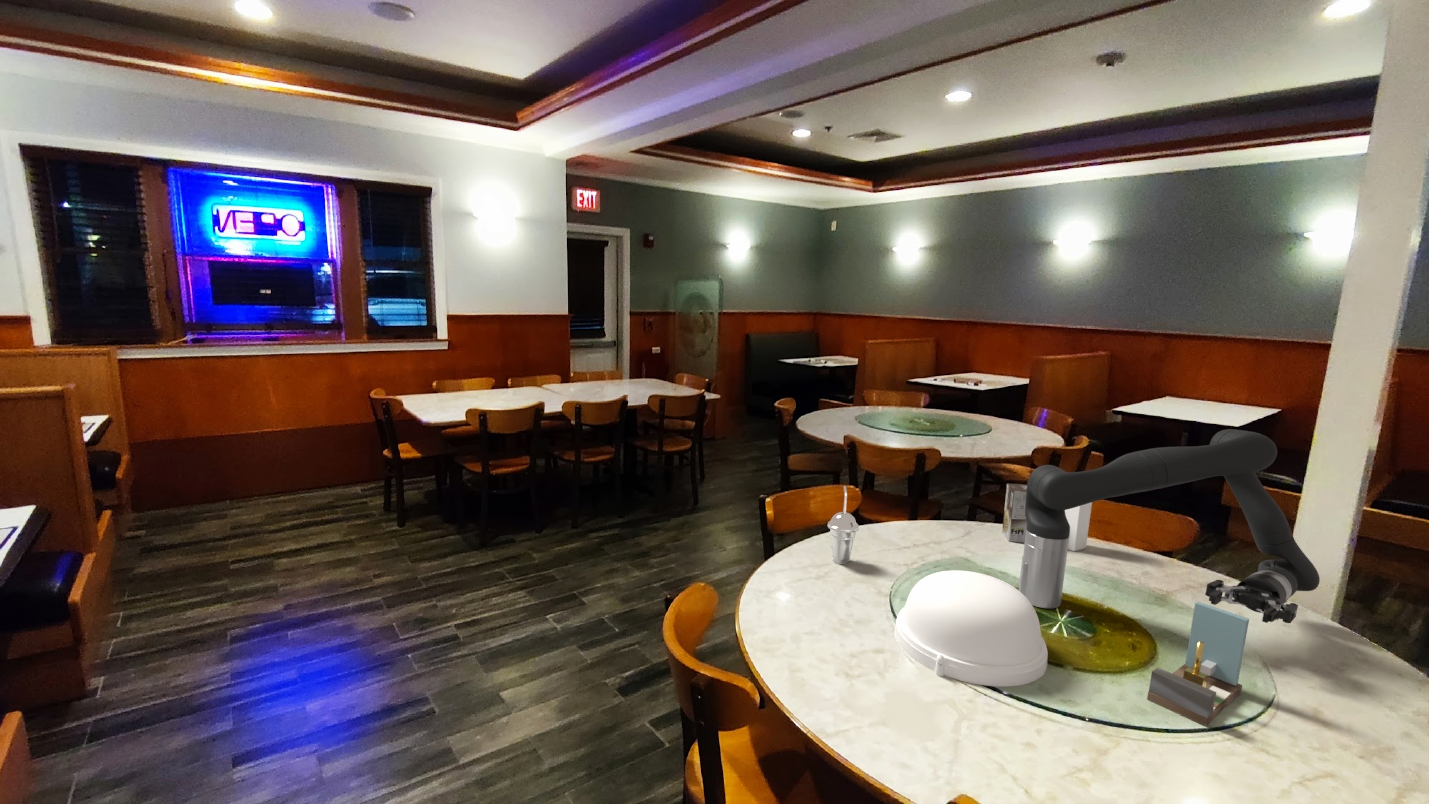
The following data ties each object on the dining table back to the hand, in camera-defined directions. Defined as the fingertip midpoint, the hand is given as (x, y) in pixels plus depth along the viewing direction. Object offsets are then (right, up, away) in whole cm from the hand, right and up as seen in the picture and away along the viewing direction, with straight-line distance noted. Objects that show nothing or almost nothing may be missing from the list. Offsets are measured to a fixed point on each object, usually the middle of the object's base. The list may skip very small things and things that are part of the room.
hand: (1238, 608), depth 130 cm
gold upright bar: (-18, -10, -12) cm, 24 cm away
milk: (+1, -2, +63) cm, 63 cm away
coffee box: (-13, 0, +69) cm, 70 cm away
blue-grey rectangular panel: (-12, -11, -8) cm, 18 cm away
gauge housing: (-17, -13, -11) cm, 24 cm away
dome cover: (-53, -10, +5) cm, 54 cm away
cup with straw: (-72, -2, +47) cm, 85 cm away
